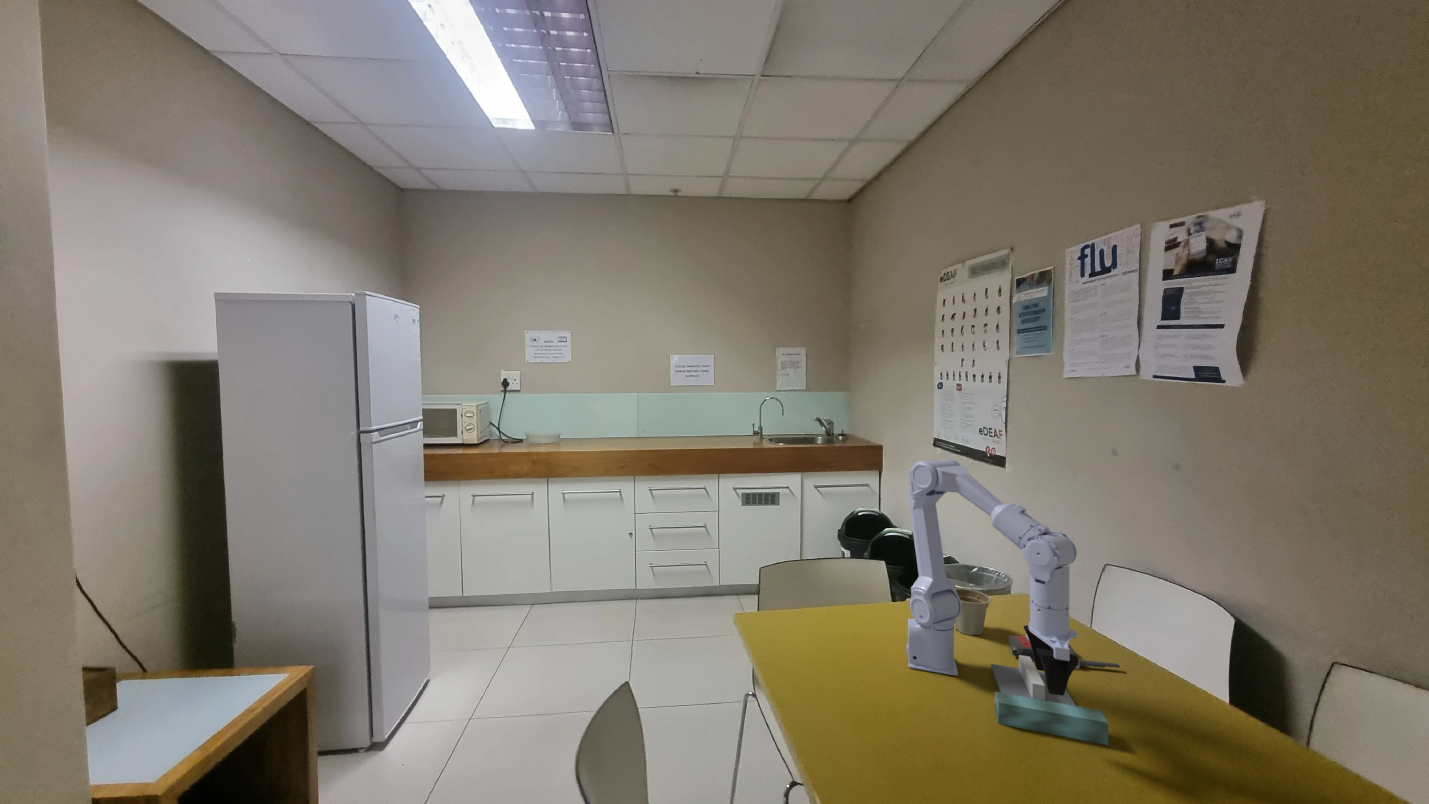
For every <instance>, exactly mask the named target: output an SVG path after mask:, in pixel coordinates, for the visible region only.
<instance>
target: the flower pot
mask: <svg viewBox="0 0 1429 804" xmlns="http://www.w3.org/2000/svg"><path fill="white" fill-rule="evenodd" d="M956 592H957V594H958V596H959V598H960V600H961V603H962V612H961V614H960V615H959V616H958V617H956V623H955V624H954V630H957V631H958V632H959V633H961V634H965V635H968V636H975V635H978V636H981V635H982V634H983V632H984V628H985V627H984V626H985V620H986V615H987V610H988V609H987V608H989V604H990V603H991V600H992V599H991V597H990V596H989V595H988V594H986V593H984V592H980V591H978V590H974V589H969V588H968V589H967V588H956Z"/></svg>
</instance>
